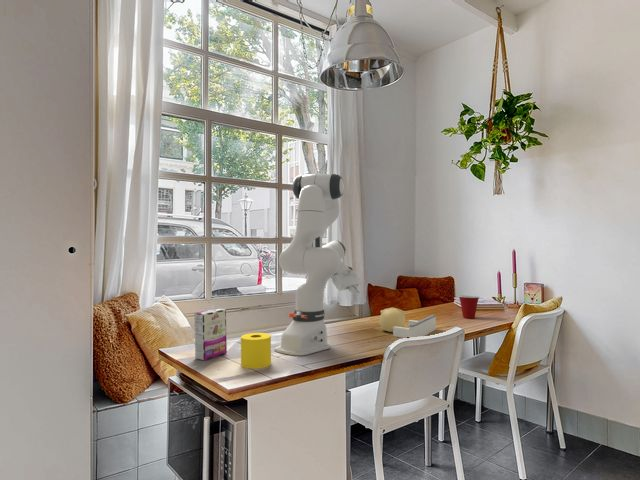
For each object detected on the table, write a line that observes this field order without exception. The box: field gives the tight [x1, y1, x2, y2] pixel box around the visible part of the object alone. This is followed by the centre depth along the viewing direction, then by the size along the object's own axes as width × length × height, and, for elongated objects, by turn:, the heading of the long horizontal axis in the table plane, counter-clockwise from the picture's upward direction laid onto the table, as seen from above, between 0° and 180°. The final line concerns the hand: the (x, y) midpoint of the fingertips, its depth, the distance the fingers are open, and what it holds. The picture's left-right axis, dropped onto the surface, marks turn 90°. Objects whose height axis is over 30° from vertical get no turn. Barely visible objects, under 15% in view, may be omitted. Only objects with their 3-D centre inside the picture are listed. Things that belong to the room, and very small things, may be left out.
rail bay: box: [392, 314, 437, 339], centre depth 185 cm, size 28×11×7 cm, turn 146°
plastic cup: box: [458, 295, 480, 320], centre depth 222 cm, size 11×11×12 cm
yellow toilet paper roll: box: [240, 332, 272, 370], centre depth 141 cm, size 10×10×9 cm
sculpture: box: [379, 307, 406, 333], centre depth 191 cm, size 11×12×11 cm
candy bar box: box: [194, 308, 228, 361], centre depth 150 cm, size 11×5×16 cm, turn 148°
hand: (357, 294), depth 201 cm, fingers closed
